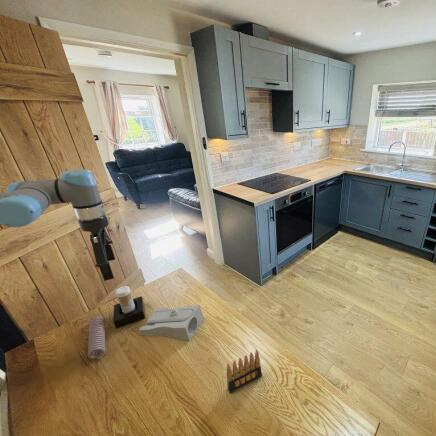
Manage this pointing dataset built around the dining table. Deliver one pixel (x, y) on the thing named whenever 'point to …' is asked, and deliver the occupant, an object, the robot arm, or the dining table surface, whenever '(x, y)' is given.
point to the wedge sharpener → (174, 322)
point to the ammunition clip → (241, 378)
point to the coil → (96, 338)
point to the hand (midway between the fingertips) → (110, 269)
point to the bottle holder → (129, 314)
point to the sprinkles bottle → (125, 299)
